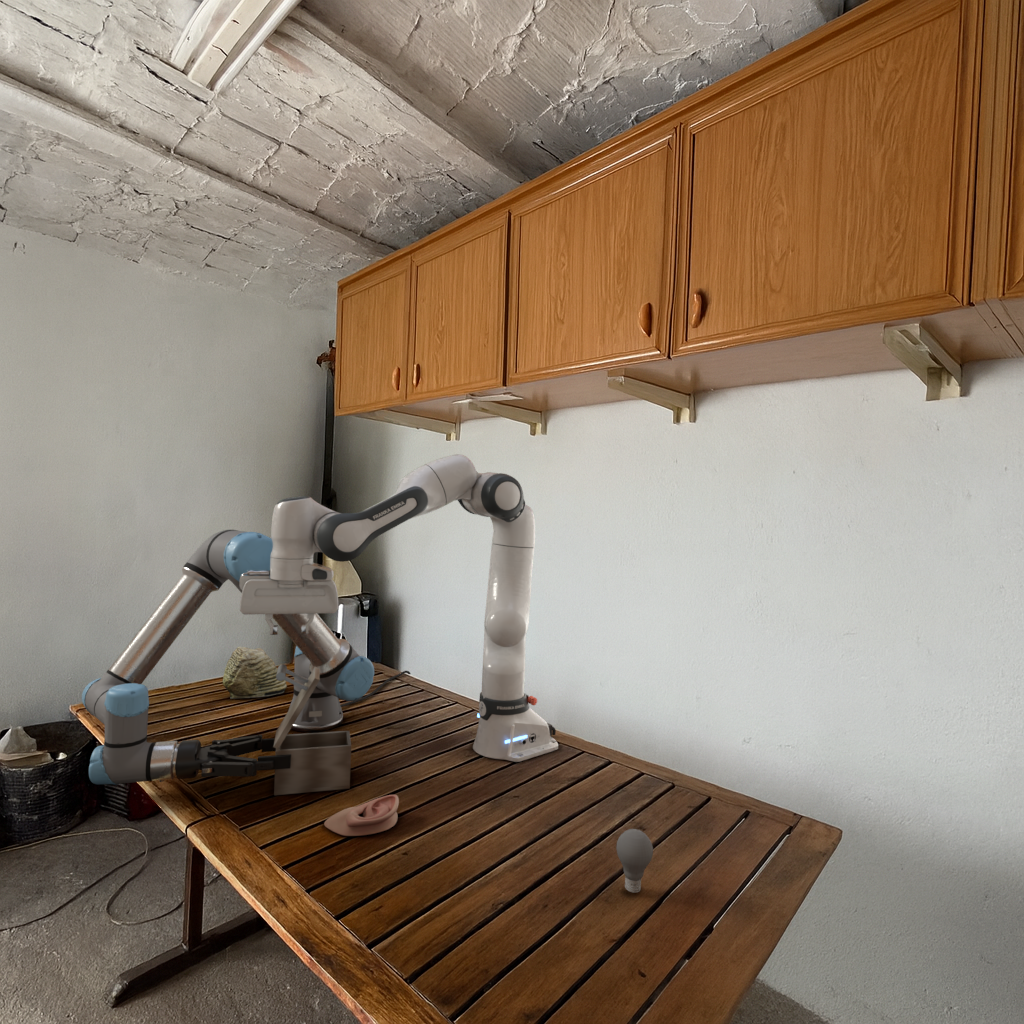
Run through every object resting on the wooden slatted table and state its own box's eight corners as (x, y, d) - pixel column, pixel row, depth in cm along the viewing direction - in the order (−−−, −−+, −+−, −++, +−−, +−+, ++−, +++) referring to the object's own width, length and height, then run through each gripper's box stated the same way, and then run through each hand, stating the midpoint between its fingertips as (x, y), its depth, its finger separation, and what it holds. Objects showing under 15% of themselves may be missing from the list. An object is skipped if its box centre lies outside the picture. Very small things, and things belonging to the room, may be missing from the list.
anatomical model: (316, 810, 120) (344, 784, 131) (316, 831, 120) (344, 803, 131) (382, 821, 117) (405, 793, 128) (381, 842, 117) (404, 812, 128)
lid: (319, 668, 144) (286, 652, 142) (319, 680, 135) (284, 663, 133) (280, 733, 142) (246, 717, 140) (278, 749, 133) (241, 733, 131)
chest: (347, 770, 147) (349, 730, 147) (349, 788, 138) (351, 745, 138) (276, 776, 142) (278, 735, 142) (274, 795, 133) (275, 751, 133)
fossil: (218, 695, 195) (220, 647, 195) (278, 685, 208) (279, 640, 207) (228, 703, 189) (230, 653, 188) (289, 692, 201) (290, 645, 201)
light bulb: (610, 879, 108) (613, 822, 108) (644, 879, 109) (647, 822, 109) (619, 902, 102) (622, 840, 102) (655, 901, 103) (658, 840, 103)
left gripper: (187, 756, 143) (293, 749, 149) (164, 802, 122) (288, 791, 128) (188, 723, 142) (294, 718, 149) (166, 763, 122) (290, 754, 128)
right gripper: (238, 572, 131) (235, 638, 132) (340, 572, 137) (337, 636, 138) (241, 568, 137) (239, 632, 138) (339, 569, 143) (337, 629, 144)
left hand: (291, 752), depth 139 cm, fingers closed on chest, 9 cm apart
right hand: (289, 634), depth 138 cm, fingers open, 5 cm apart
